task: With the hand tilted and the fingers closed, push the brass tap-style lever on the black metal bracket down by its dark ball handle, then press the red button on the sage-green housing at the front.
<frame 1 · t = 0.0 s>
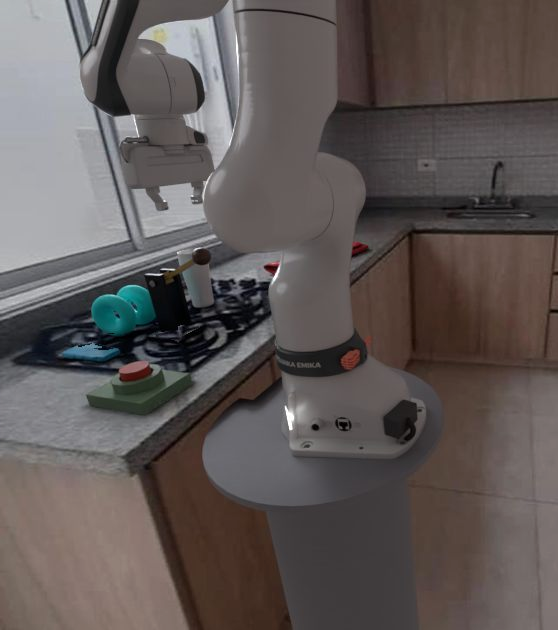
hand: (181, 207, 93), 28 cm above the worktop, tool pointing down, fingers open, 8 cm apart
drinking glass: (204, 305, 119), on the worktop
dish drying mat: (321, 261, 159), on the worktop
lever: (182, 268, 93), point 16 cm above the worktop, hinge at 25.0°
button box: (142, 394, 76), on the worktop
bracket: (178, 334, 101), on the worktop
button: (135, 371, 74), point 4 cm above the worktop, slide at 0.1 cm
turquoise double disc spool: (132, 330, 105), on the worktop
sponge: (92, 356, 92), on the worktop
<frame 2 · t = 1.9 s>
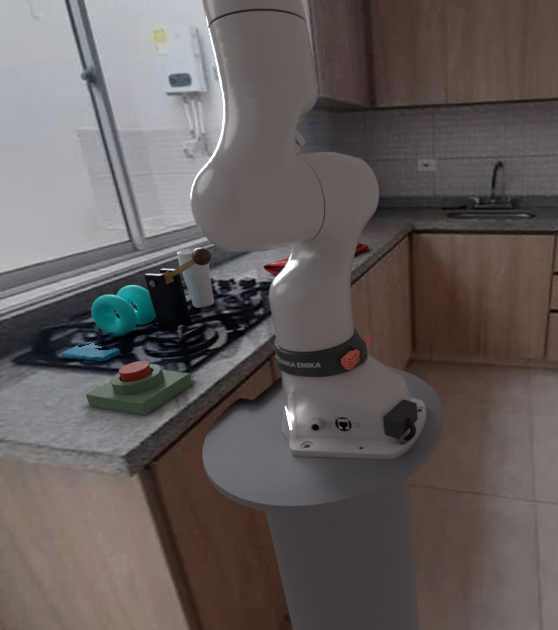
hand: (243, 182, 96), 32 cm above the worktop, tool tilted 45°, fingers open, 6 cm apart
nothing on the worktop moved.
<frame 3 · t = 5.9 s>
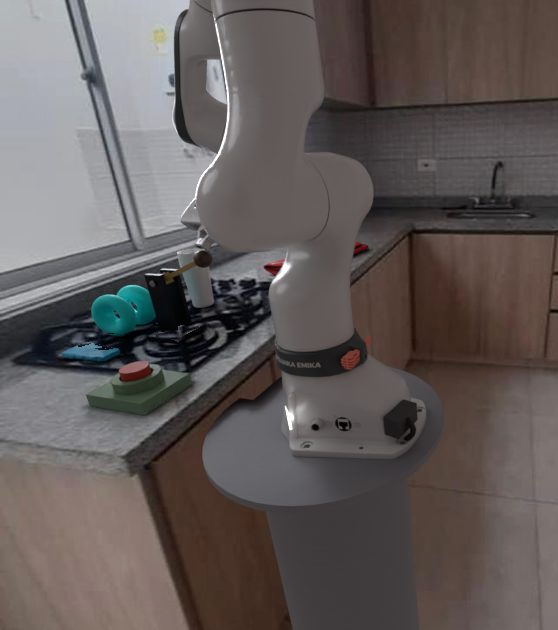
hand: (200, 247, 90), 20 cm above the worktop, tool tilted 45°, fingers closed, pressing on lever
lever: (183, 269, 93), point 16 cm above the worktop, hinge at 22.5°, touching gripper
everything else where it was.
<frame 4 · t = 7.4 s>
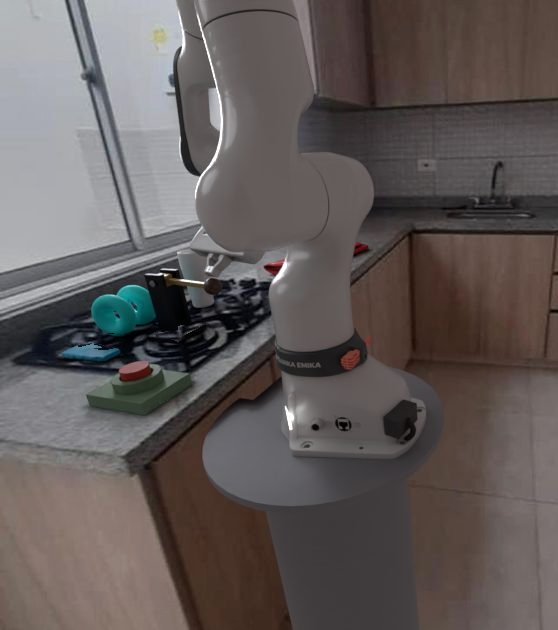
hand: (210, 275, 92), 14 cm above the worktop, tool tilted 45°, fingers closed
lever: (188, 283, 94), point 13 cm above the worktop, hinge at -3.9°, touching gripper
everything else where it was.
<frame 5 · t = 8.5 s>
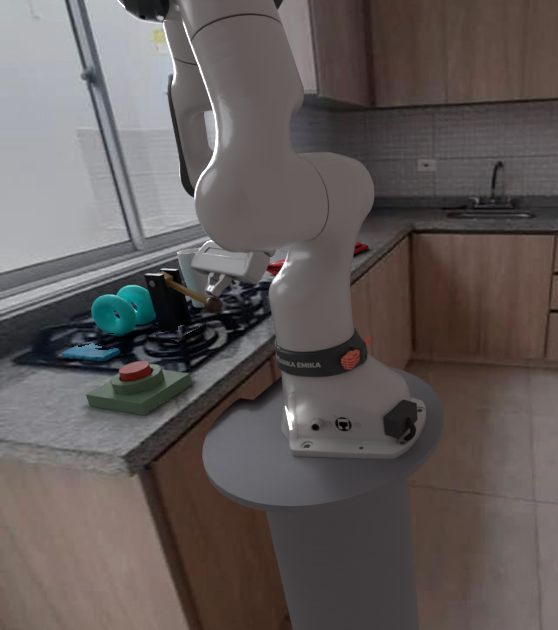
hand: (211, 294, 93), 10 cm above the worktop, tool tilted 45°, fingers closed, pressing on lever
lever: (189, 292, 95), point 10 cm above the worktop, hinge at -23.3°, touching gripper
everything else where it was.
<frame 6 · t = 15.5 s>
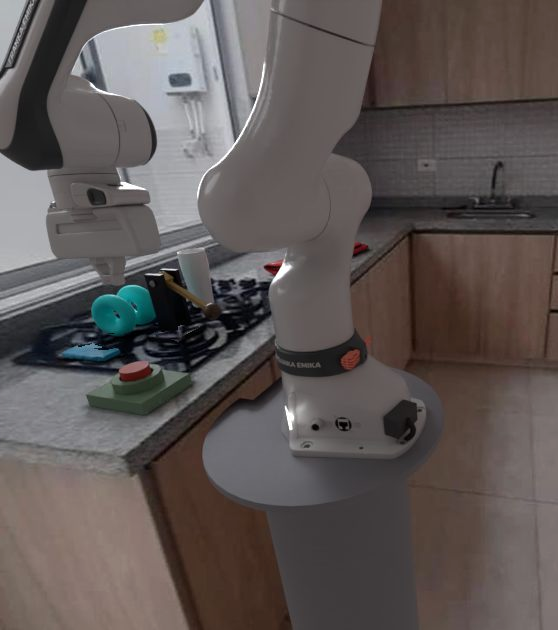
hand: (114, 285, 71), 19 cm above the worktop, tool pointing down, fingers closed
lever: (188, 296, 95), point 10 cm above the worktop, hinge at -30.4°
everything else where it was.
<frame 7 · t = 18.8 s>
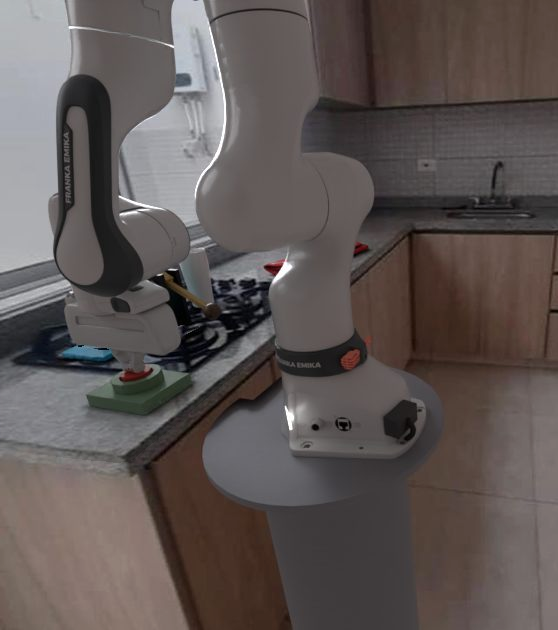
hand: (134, 371, 74), 5 cm above the worktop, tool pointing down, fingers closed, pressing on button
button: (137, 376, 74), point 4 cm above the worktop, slide at -0.8 cm, touching gripper
everything else where it was.
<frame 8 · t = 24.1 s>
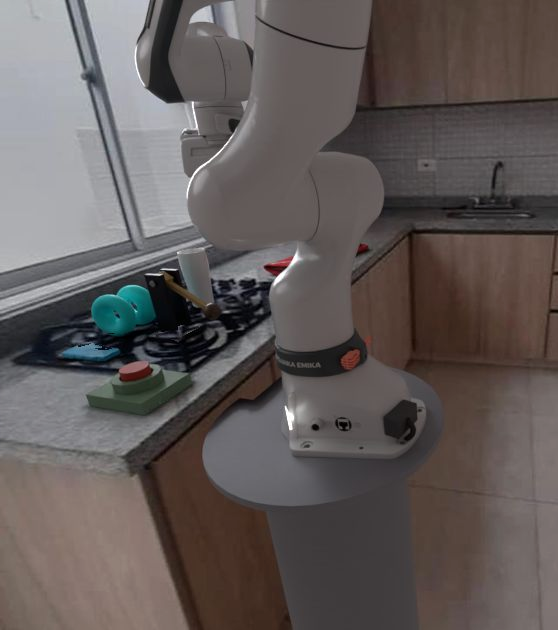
hand: (236, 200, 89), 29 cm above the worktop, tool pointing down, fingers closed
button: (135, 371, 74), point 4 cm above the worktop, slide at 0.1 cm
everything else where it was.
at the end: lever at -30° (first picture: +25°); button pushed in 1.1 cm at the most during the clip, back to where it started at the end; button slide at 0.1 cm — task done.
